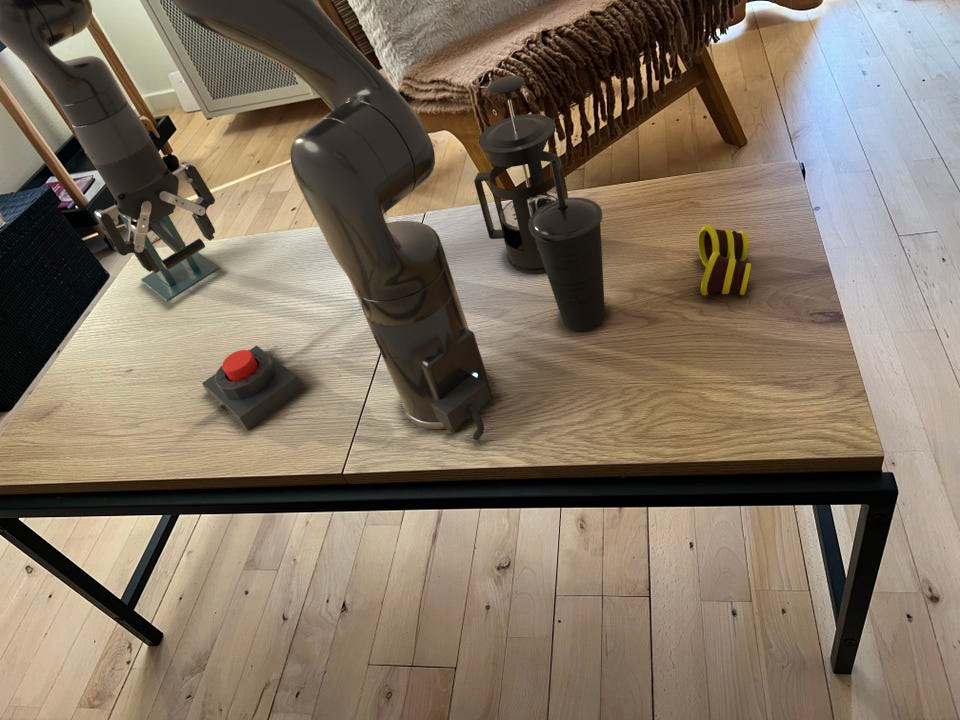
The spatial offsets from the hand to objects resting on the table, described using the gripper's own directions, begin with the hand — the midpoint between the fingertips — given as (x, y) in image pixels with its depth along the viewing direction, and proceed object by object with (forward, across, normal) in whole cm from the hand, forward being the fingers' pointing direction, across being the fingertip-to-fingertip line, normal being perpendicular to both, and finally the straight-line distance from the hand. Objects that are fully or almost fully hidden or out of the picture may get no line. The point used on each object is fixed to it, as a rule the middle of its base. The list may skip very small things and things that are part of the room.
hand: (183, 254), depth 106 cm
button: (+5, -6, -25) cm, 26 cm away
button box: (+8, -6, -24) cm, 27 cm away
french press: (+9, +32, -36) cm, 49 cm away
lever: (-1, 0, +5) cm, 5 cm away
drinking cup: (+9, +25, -50) cm, 56 cm away
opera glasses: (+9, +39, -58) cm, 71 cm away
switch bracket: (+8, 0, +10) cm, 12 cm away
